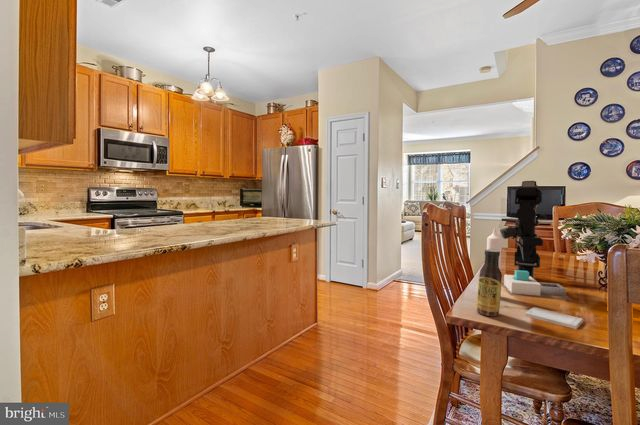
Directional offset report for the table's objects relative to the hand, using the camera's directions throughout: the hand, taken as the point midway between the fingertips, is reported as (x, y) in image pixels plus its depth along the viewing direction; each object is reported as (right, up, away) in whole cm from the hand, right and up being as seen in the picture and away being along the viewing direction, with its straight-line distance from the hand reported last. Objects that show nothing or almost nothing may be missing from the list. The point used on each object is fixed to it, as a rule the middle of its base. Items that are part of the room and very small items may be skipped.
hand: (525, 260), depth 122 cm
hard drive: (-8, -14, -26) cm, 31 cm away
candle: (-17, -12, -8) cm, 23 cm away
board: (+2, -12, -2) cm, 12 cm away
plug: (-2, -11, -1) cm, 11 cm away
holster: (+7, -11, -4) cm, 13 cm away
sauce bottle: (-26, -13, -22) cm, 36 cm away
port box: (-2, -11, -1) cm, 11 cm away
